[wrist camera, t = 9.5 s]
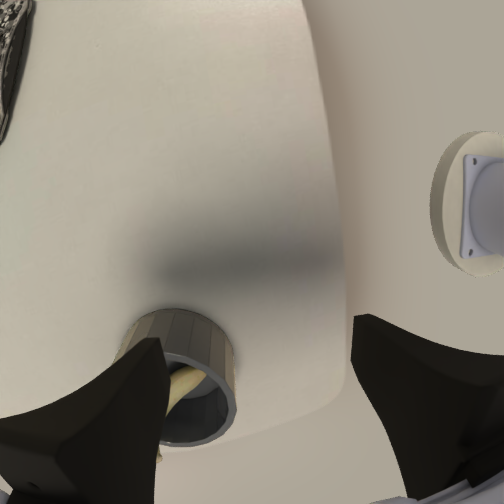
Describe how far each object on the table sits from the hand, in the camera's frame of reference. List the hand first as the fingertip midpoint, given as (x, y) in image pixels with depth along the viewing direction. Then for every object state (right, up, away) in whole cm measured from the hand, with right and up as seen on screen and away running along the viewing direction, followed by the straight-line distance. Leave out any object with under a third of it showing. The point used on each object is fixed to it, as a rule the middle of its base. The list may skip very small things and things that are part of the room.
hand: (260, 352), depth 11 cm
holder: (-6, -4, +12) cm, 14 cm away
